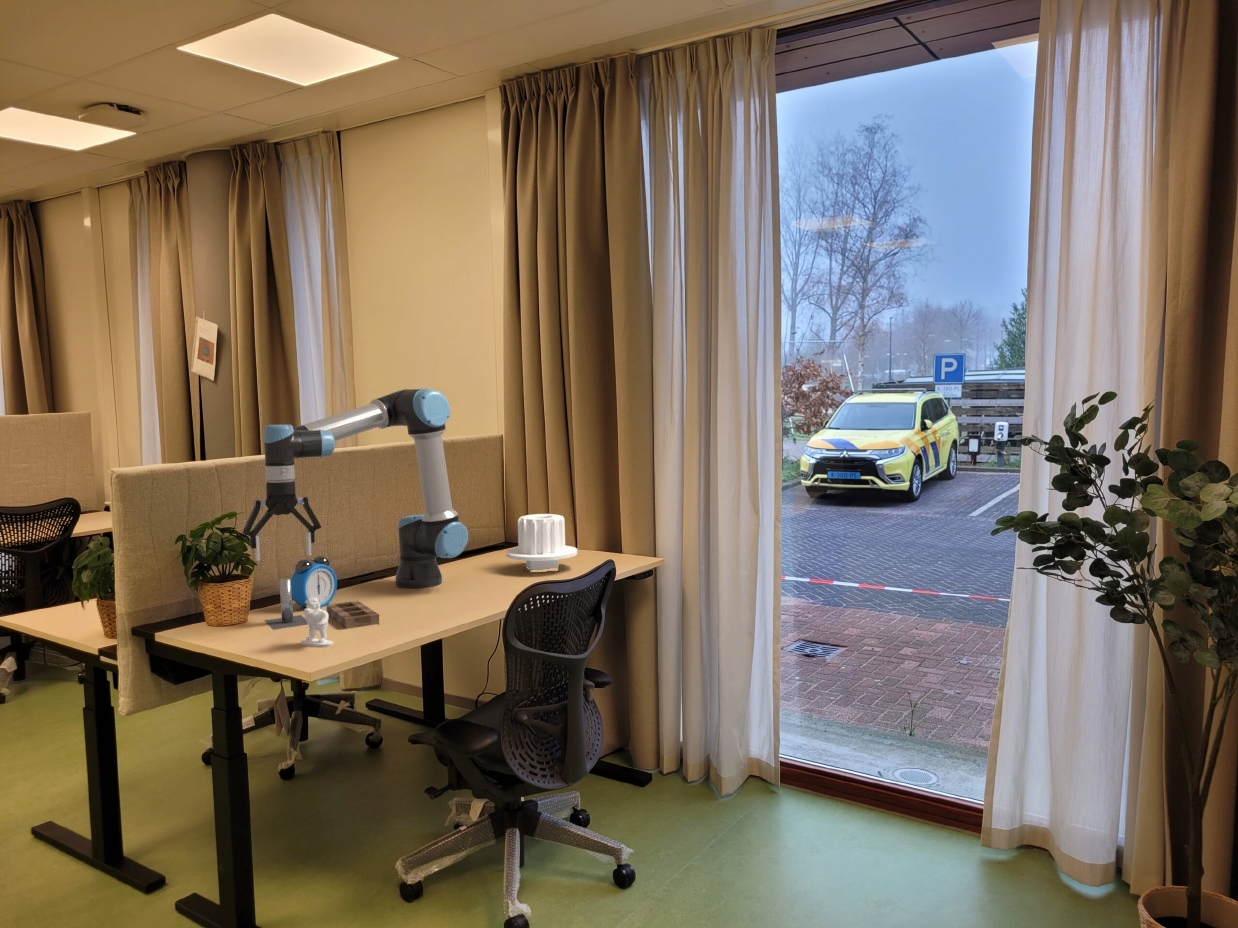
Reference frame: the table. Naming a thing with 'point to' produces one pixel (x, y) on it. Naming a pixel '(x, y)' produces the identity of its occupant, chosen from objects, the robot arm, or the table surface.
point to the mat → (278, 623)
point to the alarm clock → (313, 581)
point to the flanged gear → (541, 541)
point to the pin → (286, 600)
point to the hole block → (352, 614)
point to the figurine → (316, 624)
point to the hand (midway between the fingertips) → (283, 557)
